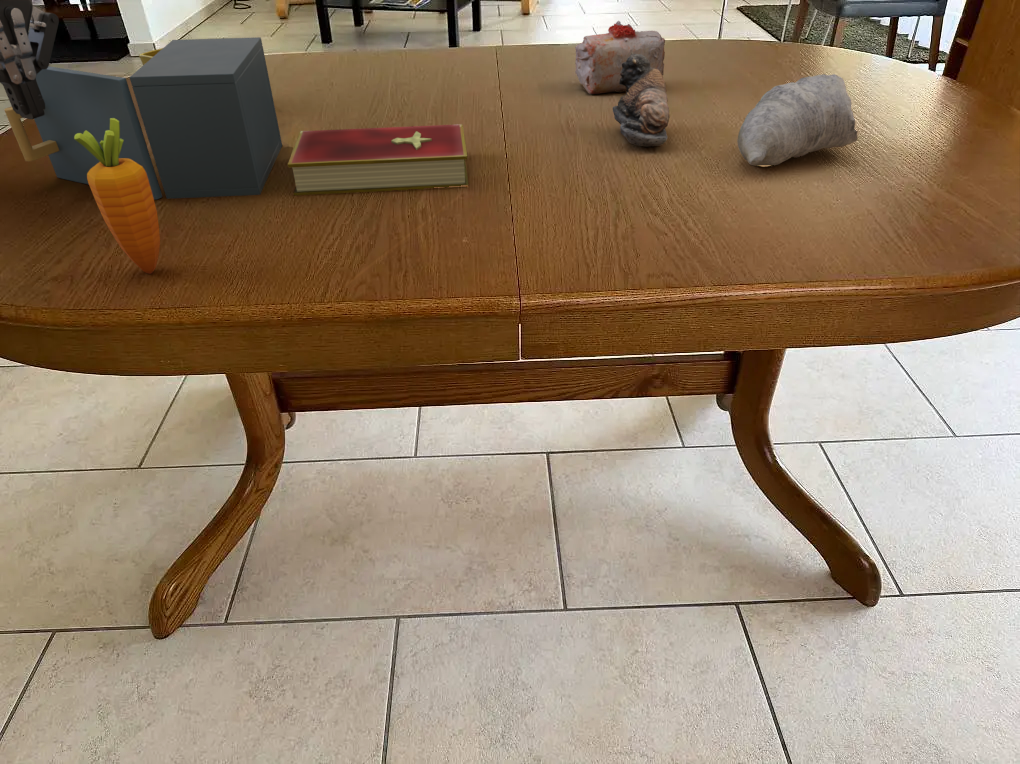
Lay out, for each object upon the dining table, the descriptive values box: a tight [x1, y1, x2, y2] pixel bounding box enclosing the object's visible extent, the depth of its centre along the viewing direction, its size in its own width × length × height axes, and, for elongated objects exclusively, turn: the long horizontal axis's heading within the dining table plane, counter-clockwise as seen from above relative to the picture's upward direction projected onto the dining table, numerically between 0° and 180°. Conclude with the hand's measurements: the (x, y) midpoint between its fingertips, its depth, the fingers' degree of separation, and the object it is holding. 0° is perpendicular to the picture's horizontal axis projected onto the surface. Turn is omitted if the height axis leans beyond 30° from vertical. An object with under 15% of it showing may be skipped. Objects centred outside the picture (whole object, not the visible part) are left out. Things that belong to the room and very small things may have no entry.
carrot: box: [74, 118, 161, 275], centre depth 69 cm, size 5×5×15 cm
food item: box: [574, 20, 666, 95], centre depth 120 cm, size 14×8×10 cm, turn 101°
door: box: [3, 65, 163, 201], centre depth 86 cm, size 5×17×14 cm, turn 65°
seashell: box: [737, 73, 859, 167], centre depth 94 cm, size 16×15×10 cm
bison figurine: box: [612, 52, 670, 148], centre depth 101 cm, size 12×7×10 cm, turn 9°
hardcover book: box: [287, 123, 469, 196], centre depth 93 cm, size 12×21×4 cm, turn 96°
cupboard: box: [129, 36, 283, 200], centre depth 91 cm, size 11×17×14 cm, turn 5°
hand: (32, 116), depth 81 cm, fingers closed
